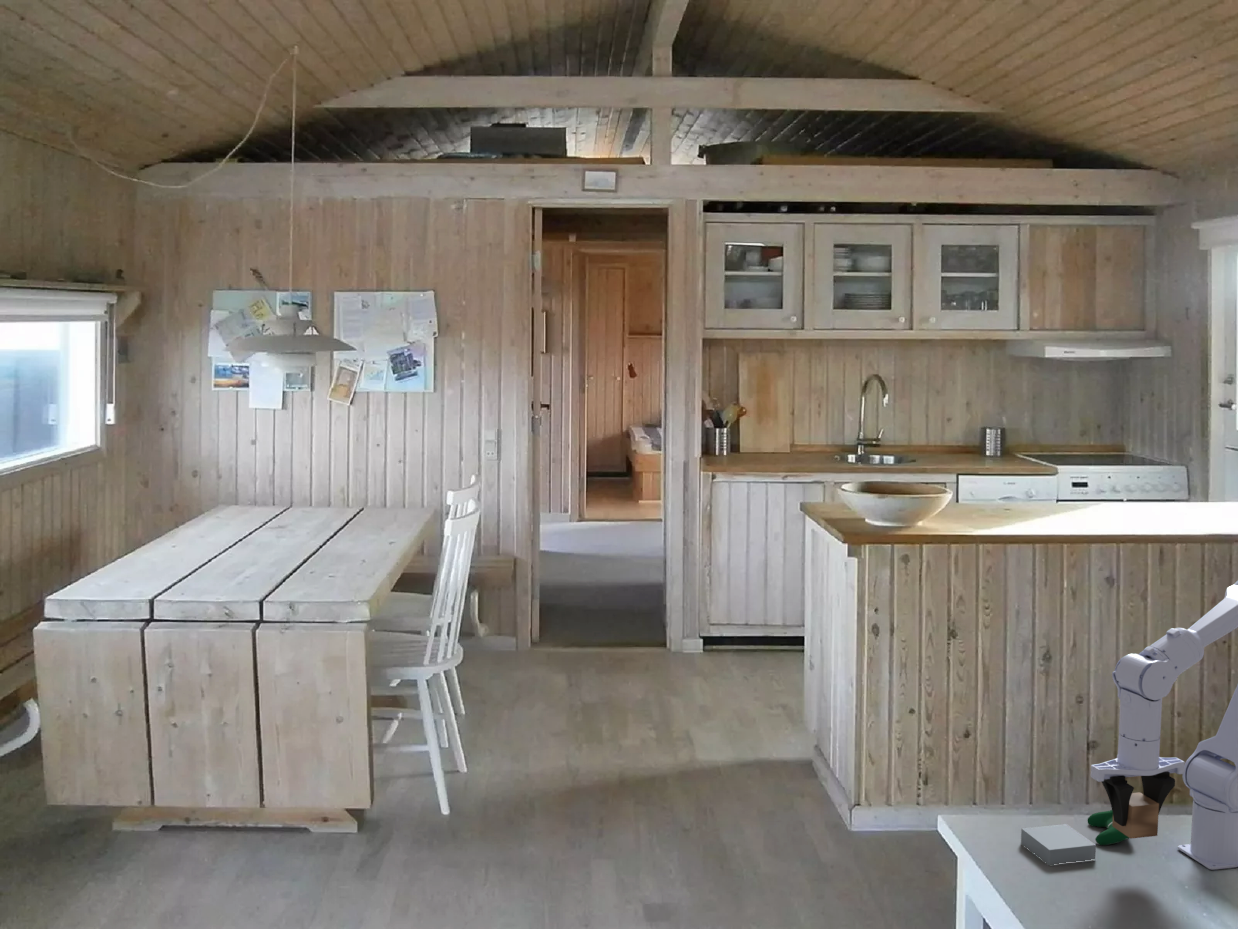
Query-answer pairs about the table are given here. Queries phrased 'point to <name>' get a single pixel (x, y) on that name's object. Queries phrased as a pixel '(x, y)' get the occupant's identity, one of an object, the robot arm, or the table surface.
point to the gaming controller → (1111, 833)
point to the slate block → (1057, 844)
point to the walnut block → (1140, 817)
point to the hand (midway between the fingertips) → (1135, 821)
